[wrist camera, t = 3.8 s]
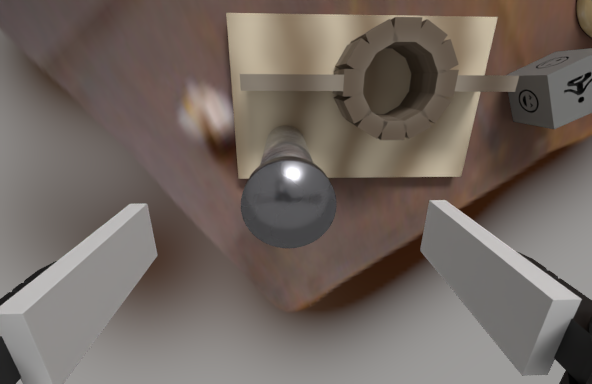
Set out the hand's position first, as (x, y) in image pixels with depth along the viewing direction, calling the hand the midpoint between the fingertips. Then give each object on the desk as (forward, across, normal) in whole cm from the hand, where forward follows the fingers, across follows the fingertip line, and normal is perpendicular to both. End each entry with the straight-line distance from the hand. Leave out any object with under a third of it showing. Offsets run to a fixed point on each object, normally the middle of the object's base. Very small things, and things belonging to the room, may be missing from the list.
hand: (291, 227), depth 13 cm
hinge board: (+18, +7, +4) cm, 20 cm away
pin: (+17, 0, 0) cm, 17 cm away
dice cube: (+18, +25, +6) cm, 32 cm away
